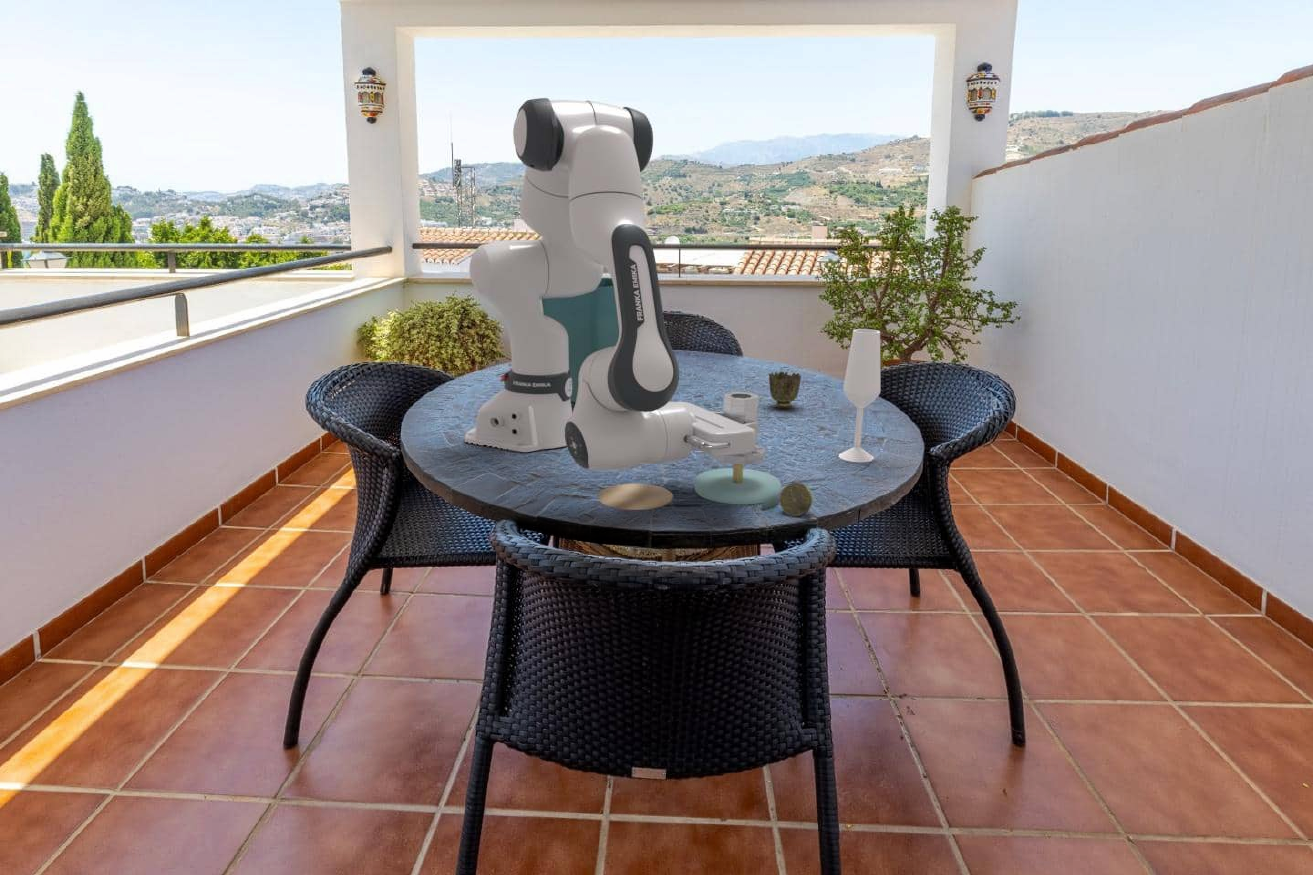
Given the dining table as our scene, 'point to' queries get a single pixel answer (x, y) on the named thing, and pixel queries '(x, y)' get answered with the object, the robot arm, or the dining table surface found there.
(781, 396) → the cup
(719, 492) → the hub
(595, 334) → the flower pot
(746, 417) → the sleeve
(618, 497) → the stand
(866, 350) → the champagne flute
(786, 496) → the lime
